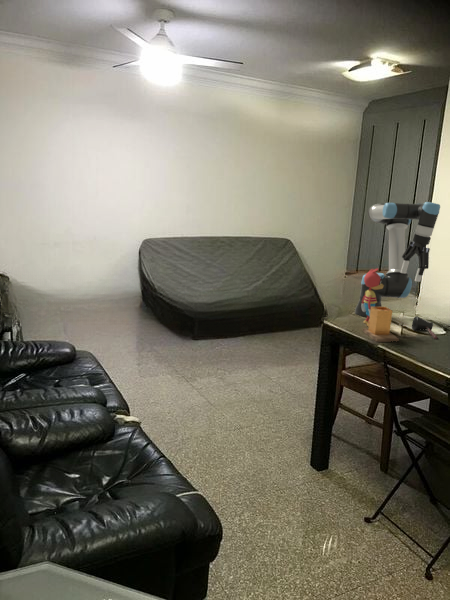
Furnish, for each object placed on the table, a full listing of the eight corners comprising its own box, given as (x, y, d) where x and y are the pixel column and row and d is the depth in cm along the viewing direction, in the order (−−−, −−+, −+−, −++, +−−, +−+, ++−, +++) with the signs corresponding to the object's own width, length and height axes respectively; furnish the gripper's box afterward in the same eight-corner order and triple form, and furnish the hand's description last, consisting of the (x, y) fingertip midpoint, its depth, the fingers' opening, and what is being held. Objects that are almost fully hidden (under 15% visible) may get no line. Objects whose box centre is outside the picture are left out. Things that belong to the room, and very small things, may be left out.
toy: (383, 329, 246) (390, 271, 239) (363, 328, 246) (370, 270, 239) (374, 321, 261) (380, 266, 254) (355, 320, 260) (361, 265, 253)
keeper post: (362, 331, 241) (364, 311, 239) (383, 331, 243) (385, 312, 240) (376, 341, 226) (379, 321, 223) (398, 341, 227) (401, 321, 225)
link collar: (368, 330, 239) (371, 306, 236) (382, 330, 240) (385, 306, 237) (374, 334, 231) (377, 310, 229) (389, 334, 232) (392, 310, 230)
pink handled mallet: (410, 326, 253) (426, 330, 252) (417, 341, 236) (435, 345, 235) (415, 313, 250) (431, 317, 249) (423, 327, 233) (440, 331, 233)
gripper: (445, 242, 221) (430, 285, 228) (416, 230, 245) (404, 270, 251) (430, 239, 220) (416, 283, 226) (402, 228, 243) (391, 269, 250)
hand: (409, 277), depth 239 cm, fingers open, 13 cm apart
